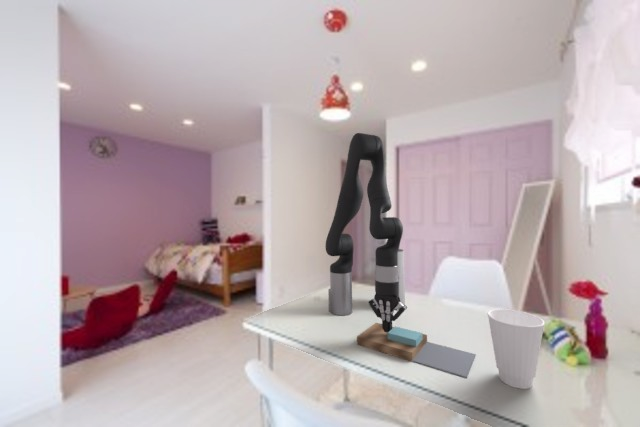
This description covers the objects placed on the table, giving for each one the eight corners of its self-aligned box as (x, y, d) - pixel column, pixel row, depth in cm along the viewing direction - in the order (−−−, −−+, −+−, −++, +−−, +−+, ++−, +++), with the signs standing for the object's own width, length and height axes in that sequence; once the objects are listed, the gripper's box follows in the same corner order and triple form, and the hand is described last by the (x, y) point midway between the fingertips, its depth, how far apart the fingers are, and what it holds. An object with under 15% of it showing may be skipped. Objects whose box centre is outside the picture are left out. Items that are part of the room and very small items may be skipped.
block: (357, 344, 92) (356, 336, 92) (376, 329, 103) (376, 322, 103) (412, 361, 81) (412, 352, 81) (427, 342, 92) (427, 334, 92)
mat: (412, 361, 81) (412, 360, 81) (427, 342, 92) (427, 341, 92) (466, 378, 73) (466, 377, 73) (475, 355, 84) (475, 354, 84)
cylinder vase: (372, 307, 126) (371, 251, 126) (381, 299, 137) (381, 247, 137) (400, 312, 120) (399, 253, 120) (408, 303, 130) (407, 249, 130)
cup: (497, 362, 80) (496, 305, 80) (550, 381, 71) (550, 317, 71) (480, 379, 72) (480, 316, 72) (538, 402, 63) (538, 331, 63)
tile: (387, 339, 90) (387, 332, 90) (395, 332, 95) (394, 326, 95) (416, 346, 85) (416, 340, 85) (422, 339, 89) (422, 333, 89)
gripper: (363, 278, 94) (363, 330, 94) (402, 284, 86) (402, 341, 86) (373, 273, 100) (374, 323, 100) (410, 279, 92) (411, 332, 92)
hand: (387, 331), depth 93 cm, fingers closed
